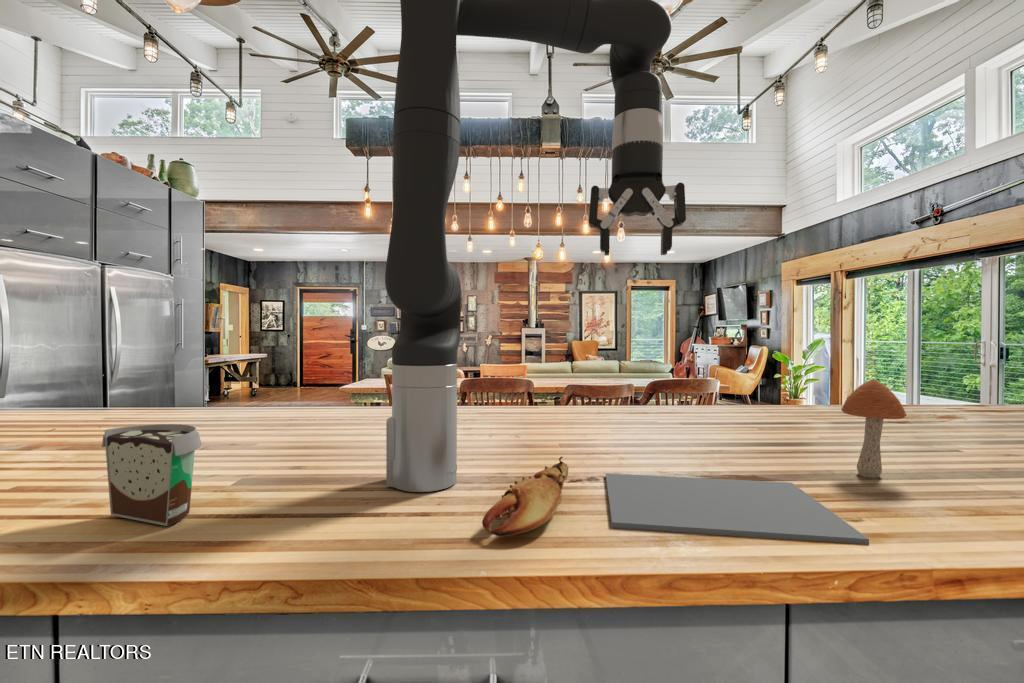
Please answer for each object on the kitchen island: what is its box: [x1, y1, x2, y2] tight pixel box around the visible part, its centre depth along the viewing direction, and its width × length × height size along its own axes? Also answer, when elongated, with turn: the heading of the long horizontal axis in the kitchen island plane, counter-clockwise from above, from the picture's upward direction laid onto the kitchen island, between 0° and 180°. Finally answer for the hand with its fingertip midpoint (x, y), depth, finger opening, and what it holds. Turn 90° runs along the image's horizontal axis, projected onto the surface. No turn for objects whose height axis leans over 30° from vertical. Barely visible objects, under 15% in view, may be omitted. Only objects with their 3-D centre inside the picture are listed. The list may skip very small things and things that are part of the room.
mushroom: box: [841, 378, 907, 479], centre depth 73 cm, size 8×8×15 cm
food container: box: [101, 423, 202, 527], centre depth 58 cm, size 12×6×10 cm, turn 71°
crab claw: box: [481, 456, 569, 537], centre depth 58 cm, size 7×5×20 cm
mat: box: [605, 472, 870, 545], centre depth 61 cm, size 26×19×1 cm
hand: (635, 254), depth 74 cm, fingers open, 8 cm apart
